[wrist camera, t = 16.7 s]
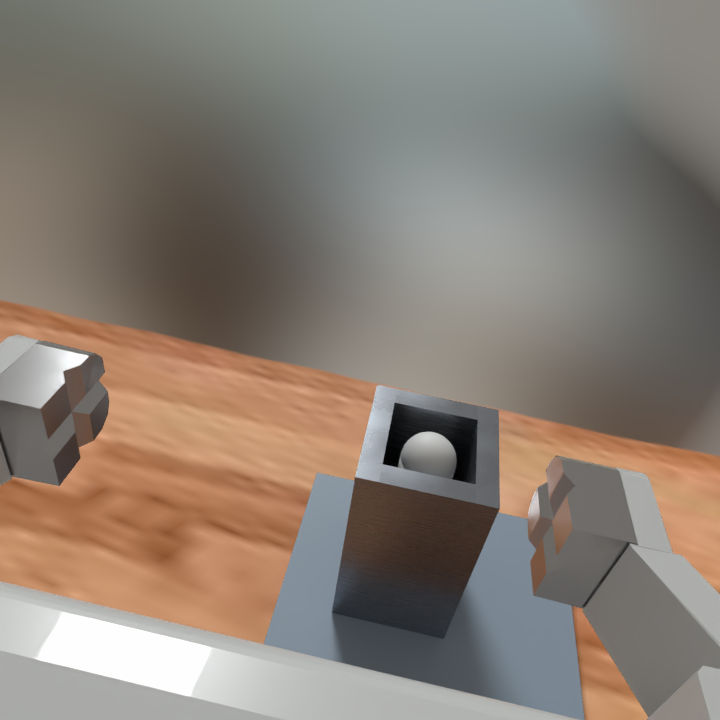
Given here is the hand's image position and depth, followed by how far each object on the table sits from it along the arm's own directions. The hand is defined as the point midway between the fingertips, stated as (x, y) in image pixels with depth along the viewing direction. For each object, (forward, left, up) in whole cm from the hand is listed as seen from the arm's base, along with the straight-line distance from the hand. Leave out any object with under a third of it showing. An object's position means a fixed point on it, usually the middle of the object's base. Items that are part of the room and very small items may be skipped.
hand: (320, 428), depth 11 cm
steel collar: (+3, +12, -22) cm, 25 cm away
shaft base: (+5, +12, -24) cm, 27 cm away
